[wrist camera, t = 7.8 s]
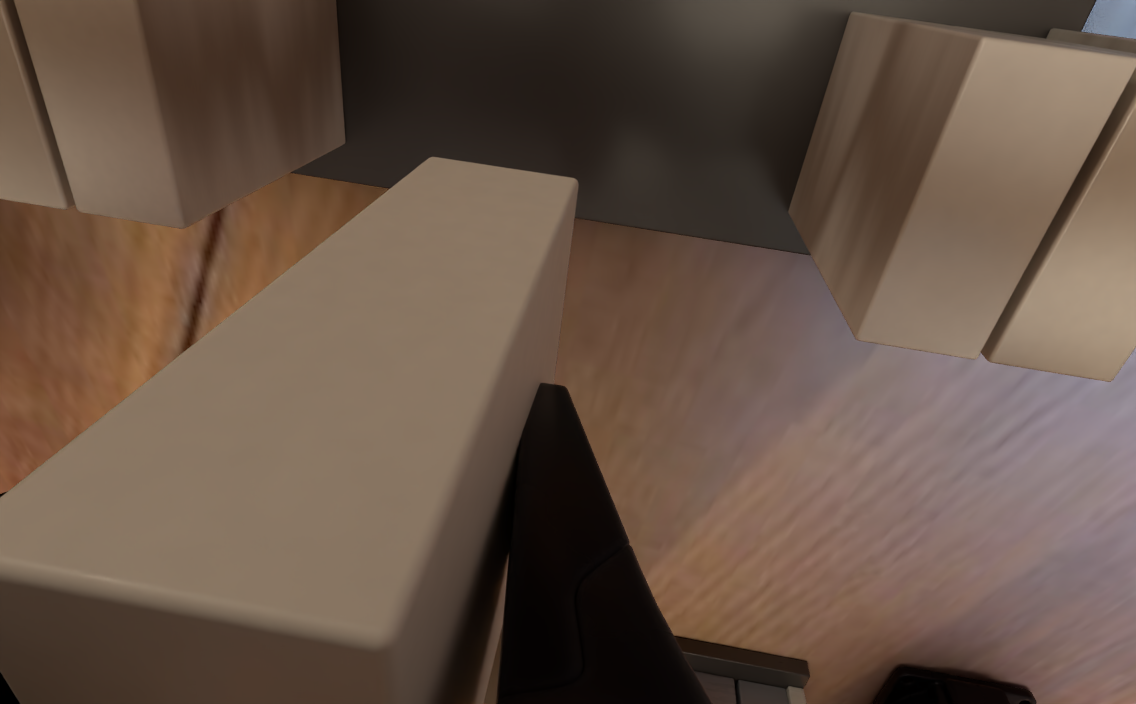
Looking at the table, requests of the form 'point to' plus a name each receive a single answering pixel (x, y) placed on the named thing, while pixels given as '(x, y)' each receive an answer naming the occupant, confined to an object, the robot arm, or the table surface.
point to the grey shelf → (726, 675)
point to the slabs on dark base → (642, 134)
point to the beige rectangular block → (308, 474)
